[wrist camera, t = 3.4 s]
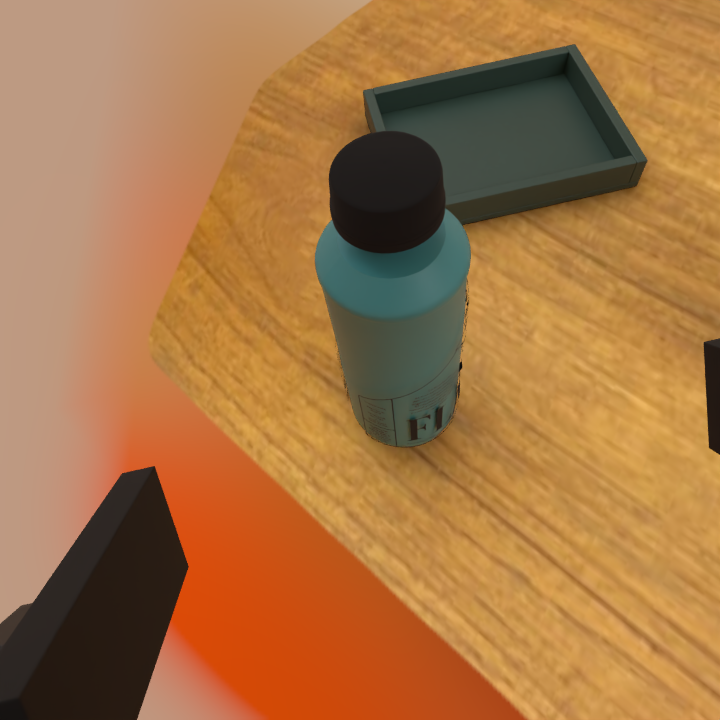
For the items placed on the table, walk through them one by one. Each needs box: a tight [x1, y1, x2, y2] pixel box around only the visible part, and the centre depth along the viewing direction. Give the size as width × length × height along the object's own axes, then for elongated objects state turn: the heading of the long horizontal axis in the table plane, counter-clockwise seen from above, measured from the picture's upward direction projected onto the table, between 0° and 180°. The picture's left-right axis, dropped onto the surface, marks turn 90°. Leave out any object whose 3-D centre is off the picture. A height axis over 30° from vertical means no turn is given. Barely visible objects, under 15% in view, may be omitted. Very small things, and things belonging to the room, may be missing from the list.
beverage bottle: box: [315, 131, 471, 447], centre depth 29 cm, size 6×7×20 cm
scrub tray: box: [363, 44, 647, 225], centre depth 46 cm, size 18×14×2 cm
